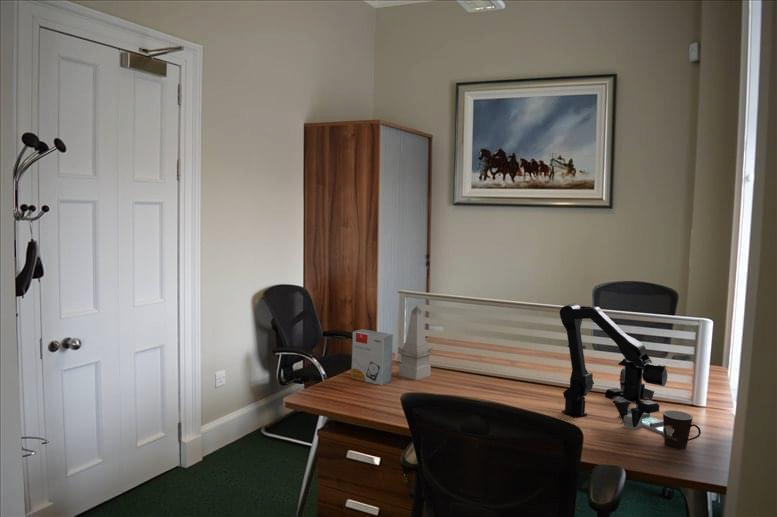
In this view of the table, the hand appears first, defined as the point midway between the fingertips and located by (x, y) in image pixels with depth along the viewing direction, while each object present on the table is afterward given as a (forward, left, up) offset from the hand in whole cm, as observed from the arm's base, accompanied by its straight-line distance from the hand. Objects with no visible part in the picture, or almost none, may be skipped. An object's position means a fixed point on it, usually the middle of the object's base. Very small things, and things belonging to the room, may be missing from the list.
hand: (629, 424), depth 219 cm
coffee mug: (+1, -19, -1) cm, 19 cm away
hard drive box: (-58, +82, -1) cm, 101 cm away
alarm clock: (+24, +24, -1) cm, 34 cm away
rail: (+10, 0, -1) cm, 10 cm away
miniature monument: (-38, +82, -1) cm, 90 cm away
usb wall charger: (0, 0, -1) cm, 1 cm away
